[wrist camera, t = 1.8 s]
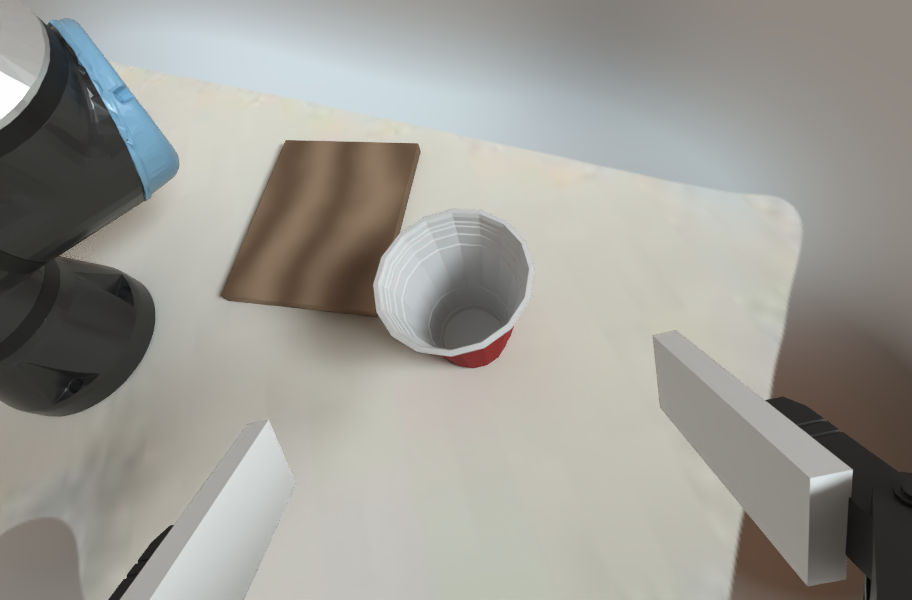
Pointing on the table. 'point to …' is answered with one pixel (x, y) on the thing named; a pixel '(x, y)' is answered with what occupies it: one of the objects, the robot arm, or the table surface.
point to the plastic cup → (455, 285)
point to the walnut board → (324, 226)
